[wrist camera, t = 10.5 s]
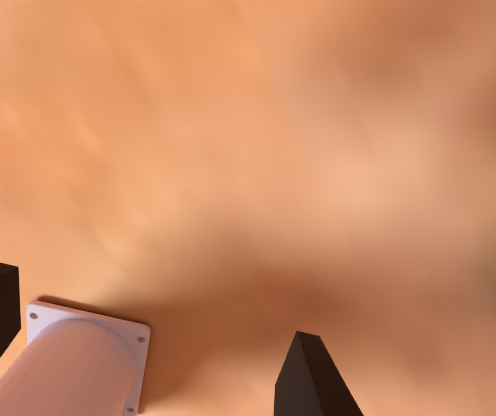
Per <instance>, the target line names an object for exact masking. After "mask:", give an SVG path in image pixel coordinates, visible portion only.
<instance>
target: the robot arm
mask: <svg viewBox="0 0 496 416" xmlns="http://www.w3.org/2000/svg"><path fill="white" fill-rule="evenodd" d="M26 313H27V347H26V348H25V350H24V351H23V352H22V353H21V354H20V355H19V357H18V358H17V359H16V360H15V361H14V362H13V364H12V365H11V366H10V367H9V368H8V369H7V371H6V372H5V373H4V374H3V375H2V377H1V378H0V416H137V413H138V407H139V401H140V395H141V389H142V383H143V377H144V371H145V365H146V359H147V353H148V347H149V341H150V335H151V329H150V328H149V327H148V326H147V325H144V324H140V323H135V322H131V321H126V320H122V319H117V318H113V317H108V316H104V315H100V314H95V313H91V312H86V311H82V310H77V309H73V308H68V307H64V306H59V305H55V304H50V303H46V302H41V301H37V300H33V301H31V302H30V303H29V304H28V305H27V307H26ZM36 314H37V315H36ZM20 329H21V317H20V293H19V269H18V267H17V266H12V265H8V264H3V263H0V357H1V356H2V355H3V353H4V352H5V351H6V349H7V348H8V346H9V345H10V343H11V342H12V341H13V339H14V338H15V336H16V335H17V333H18V332H19V331H20ZM140 337H143V338H140ZM274 416H364V415H363V414H362V412H361V410H360V408H359V407H358V405H357V403H356V402H355V400H354V398H353V396H352V395H351V393H350V391H349V389H348V388H347V386H346V384H345V382H344V380H343V379H342V377H341V375H340V373H339V371H338V369H337V368H336V366H335V364H334V362H333V360H332V358H331V356H330V355H329V353H328V351H327V349H326V347H325V345H324V344H323V342H322V340H321V338H320V337H319V336H317V335H313V334H308V333H304V332H300V331H296V333H295V336H294V339H293V341H292V344H291V346H290V349H289V351H288V354H287V356H286V359H285V361H284V364H283V366H282V369H281V372H280V374H279V377H278V379H277V382H276V384H275V399H274Z"/></svg>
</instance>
